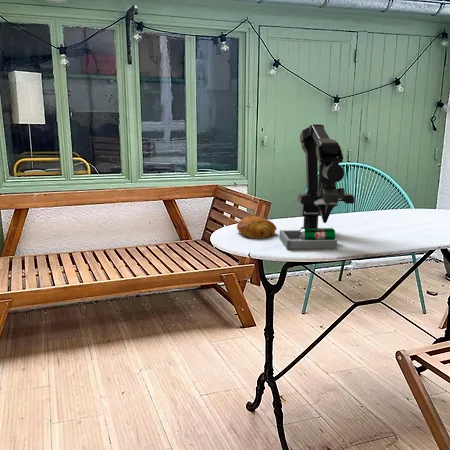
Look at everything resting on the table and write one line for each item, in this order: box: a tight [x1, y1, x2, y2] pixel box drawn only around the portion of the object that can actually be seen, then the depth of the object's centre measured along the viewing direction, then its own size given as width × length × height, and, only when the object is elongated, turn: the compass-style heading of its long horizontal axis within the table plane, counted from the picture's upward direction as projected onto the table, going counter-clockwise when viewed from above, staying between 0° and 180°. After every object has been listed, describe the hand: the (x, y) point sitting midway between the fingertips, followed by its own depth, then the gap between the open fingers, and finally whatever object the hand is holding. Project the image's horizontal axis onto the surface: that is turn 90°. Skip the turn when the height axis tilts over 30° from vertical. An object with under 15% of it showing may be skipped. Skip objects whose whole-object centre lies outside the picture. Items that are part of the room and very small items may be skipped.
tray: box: [278, 229, 338, 251], centre depth 163 cm, size 16×17×3 cm
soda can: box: [299, 227, 337, 240], centre depth 163 cm, size 5×5×12 cm
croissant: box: [236, 215, 277, 239], centre depth 177 cm, size 14×16×8 cm
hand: (324, 222), depth 162 cm, fingers closed
